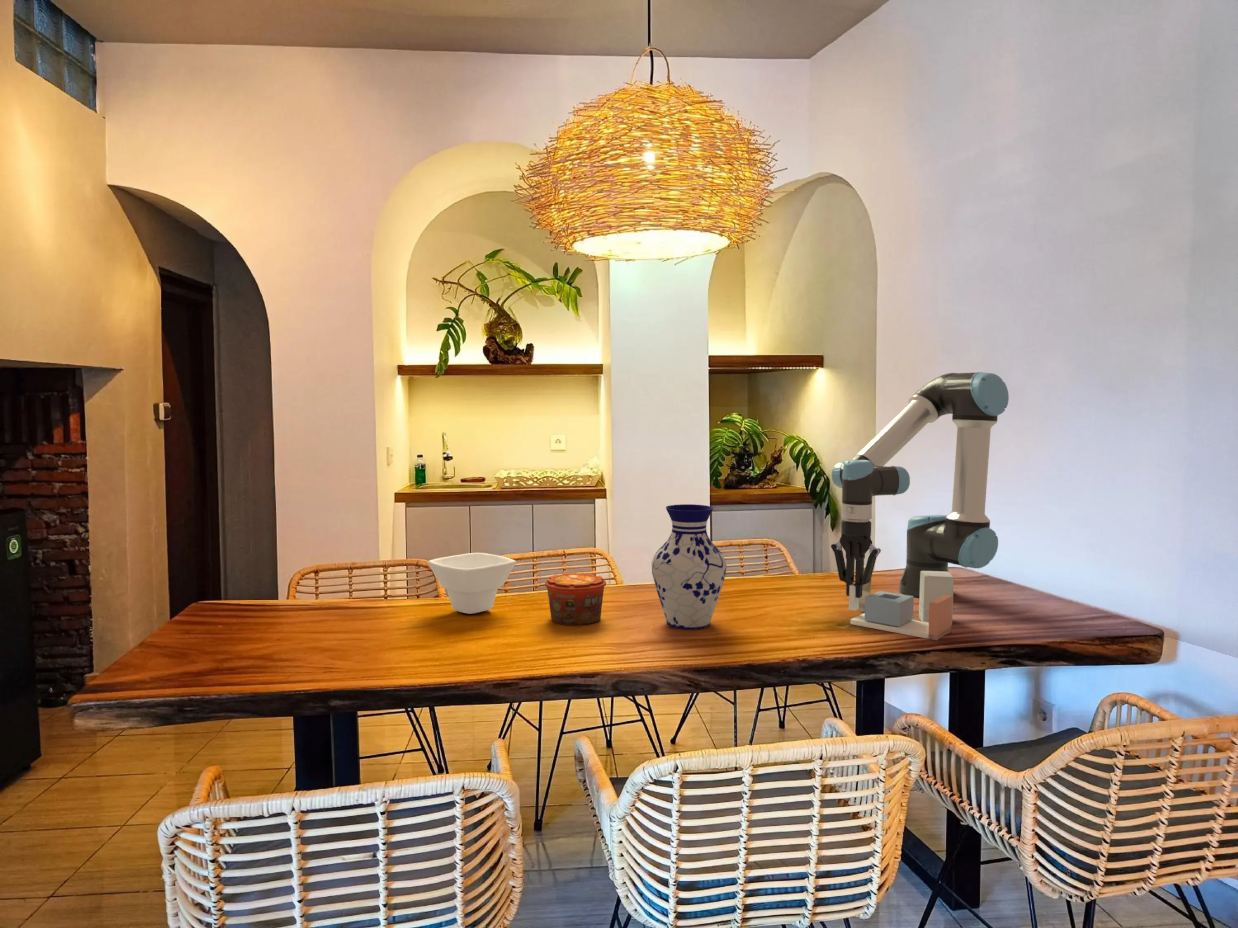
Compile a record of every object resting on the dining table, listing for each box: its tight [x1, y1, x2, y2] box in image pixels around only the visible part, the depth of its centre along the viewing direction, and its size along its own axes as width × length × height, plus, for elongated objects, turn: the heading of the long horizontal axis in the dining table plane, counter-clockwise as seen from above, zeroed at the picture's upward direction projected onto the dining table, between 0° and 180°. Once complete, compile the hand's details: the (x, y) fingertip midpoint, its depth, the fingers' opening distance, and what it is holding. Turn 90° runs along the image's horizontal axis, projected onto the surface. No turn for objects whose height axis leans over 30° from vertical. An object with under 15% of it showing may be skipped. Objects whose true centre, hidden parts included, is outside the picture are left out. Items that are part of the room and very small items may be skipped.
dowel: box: [857, 565, 872, 613], centre depth 233 cm, size 3×3×12 cm
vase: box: [651, 503, 727, 630], centre depth 218 cm, size 19×19×30 cm
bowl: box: [427, 552, 517, 615], centre depth 230 cm, size 19×19×14 cm
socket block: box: [864, 590, 915, 627], centre depth 218 cm, size 9×9×6 cm
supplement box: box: [918, 571, 955, 626], centre depth 223 cm, size 7×7×13 cm
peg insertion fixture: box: [850, 595, 953, 641], centre depth 216 cm, size 10×22×9 cm, turn 50°
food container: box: [544, 572, 607, 626], centre depth 223 cm, size 16×16×11 cm
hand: (853, 609), depth 224 cm, fingers closed
